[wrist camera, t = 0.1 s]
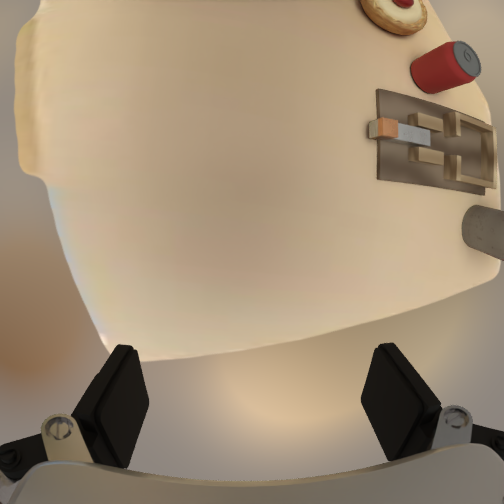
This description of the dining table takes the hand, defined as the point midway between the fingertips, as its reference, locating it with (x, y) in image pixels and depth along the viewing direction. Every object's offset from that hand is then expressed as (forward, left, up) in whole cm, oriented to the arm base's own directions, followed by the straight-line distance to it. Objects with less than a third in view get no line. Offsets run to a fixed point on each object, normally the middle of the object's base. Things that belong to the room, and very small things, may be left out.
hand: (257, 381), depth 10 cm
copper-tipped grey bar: (-15, +21, -30) cm, 40 cm away
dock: (-15, +31, -31) cm, 46 cm away
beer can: (-27, +29, -31) cm, 50 cm away
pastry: (-39, +23, -32) cm, 55 cm away
